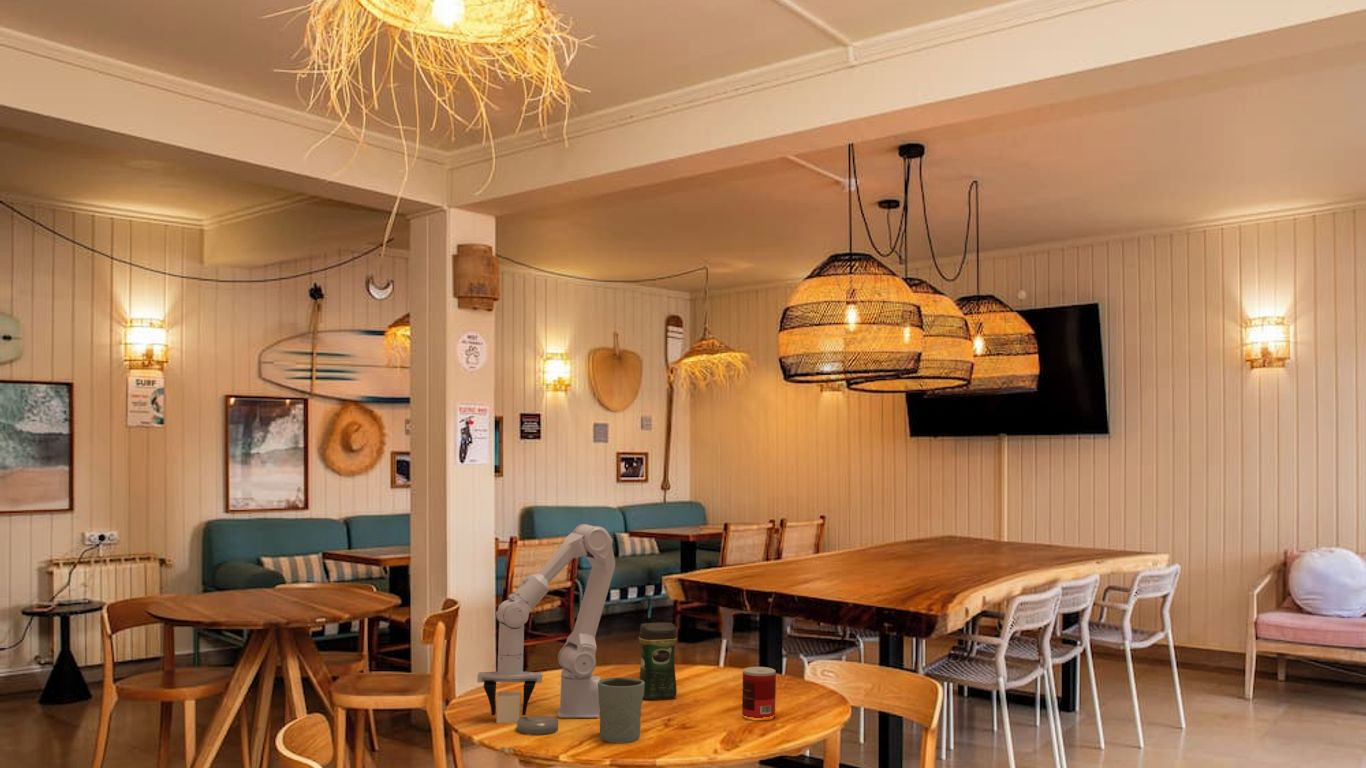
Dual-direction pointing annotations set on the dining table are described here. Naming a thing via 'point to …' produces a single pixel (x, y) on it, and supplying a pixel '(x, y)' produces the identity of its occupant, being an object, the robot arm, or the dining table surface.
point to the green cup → (620, 709)
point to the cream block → (508, 707)
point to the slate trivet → (537, 725)
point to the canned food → (758, 692)
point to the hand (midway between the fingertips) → (508, 714)
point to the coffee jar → (658, 660)
